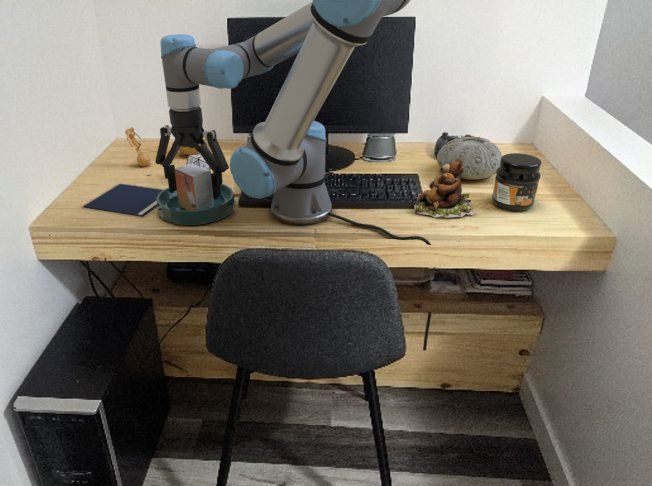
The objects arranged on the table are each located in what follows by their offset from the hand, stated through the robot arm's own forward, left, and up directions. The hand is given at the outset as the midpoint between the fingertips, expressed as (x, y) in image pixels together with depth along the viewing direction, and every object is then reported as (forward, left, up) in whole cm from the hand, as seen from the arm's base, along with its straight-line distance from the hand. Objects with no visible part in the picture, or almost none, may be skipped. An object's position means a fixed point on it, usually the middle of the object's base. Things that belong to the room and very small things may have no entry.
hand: (195, 194), depth 139 cm
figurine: (+32, -23, -5) cm, 40 cm away
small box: (0, 0, -4) cm, 4 cm away
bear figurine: (-59, -21, -5) cm, 63 cm away
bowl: (0, 0, -4) cm, 4 cm away
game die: (+9, -18, -5) cm, 21 cm away
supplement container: (-76, -29, -5) cm, 81 cm away
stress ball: (+22, -37, -5) cm, 43 cm away
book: (+20, 0, -4) cm, 20 cm away
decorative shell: (-63, -47, -5) cm, 79 cm away
